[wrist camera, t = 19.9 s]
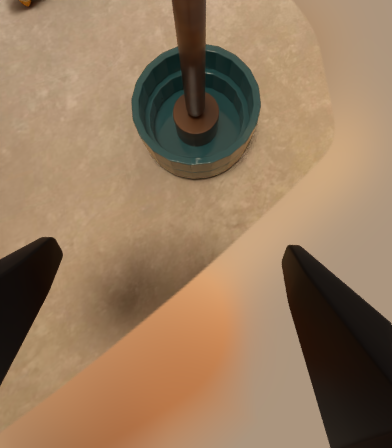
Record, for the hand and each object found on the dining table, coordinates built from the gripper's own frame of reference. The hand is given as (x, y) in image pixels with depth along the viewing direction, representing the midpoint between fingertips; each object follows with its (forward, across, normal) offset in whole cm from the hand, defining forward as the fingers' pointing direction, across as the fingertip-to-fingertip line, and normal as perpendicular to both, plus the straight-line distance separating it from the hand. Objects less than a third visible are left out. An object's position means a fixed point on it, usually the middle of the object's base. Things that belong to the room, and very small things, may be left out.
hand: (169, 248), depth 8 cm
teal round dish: (+17, 0, 0) cm, 17 cm away
